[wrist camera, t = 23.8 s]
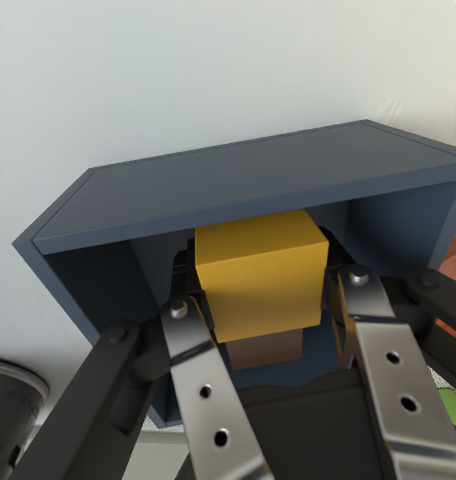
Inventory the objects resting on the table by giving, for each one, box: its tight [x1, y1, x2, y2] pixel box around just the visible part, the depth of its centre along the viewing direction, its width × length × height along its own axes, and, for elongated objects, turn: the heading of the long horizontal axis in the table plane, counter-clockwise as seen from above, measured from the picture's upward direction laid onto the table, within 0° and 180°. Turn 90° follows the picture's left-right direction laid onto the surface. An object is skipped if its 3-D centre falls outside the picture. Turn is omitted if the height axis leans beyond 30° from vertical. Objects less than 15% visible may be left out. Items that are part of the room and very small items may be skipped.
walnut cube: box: [225, 328, 303, 371], centre depth 16 cm, size 4×4×4 cm
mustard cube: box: [195, 208, 329, 343], centre depth 11 cm, size 4×4×4 cm
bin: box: [12, 119, 456, 429], centre depth 14 cm, size 14×14×6 cm
